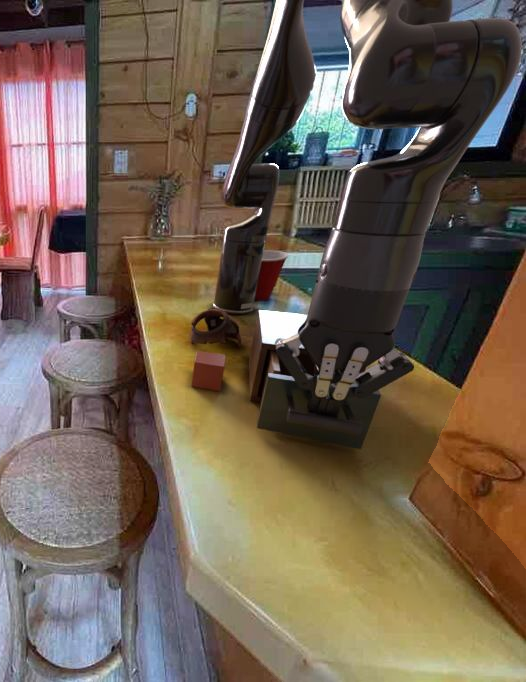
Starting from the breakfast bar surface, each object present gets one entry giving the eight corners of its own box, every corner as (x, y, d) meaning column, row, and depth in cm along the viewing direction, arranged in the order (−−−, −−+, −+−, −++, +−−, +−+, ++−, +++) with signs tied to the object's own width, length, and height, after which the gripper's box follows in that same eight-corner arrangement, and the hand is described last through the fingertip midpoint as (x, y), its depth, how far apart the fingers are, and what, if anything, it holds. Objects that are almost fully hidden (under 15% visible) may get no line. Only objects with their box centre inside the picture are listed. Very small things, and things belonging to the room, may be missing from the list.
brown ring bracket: (250, 356, 72) (240, 325, 68) (202, 371, 75) (189, 343, 71) (234, 319, 81) (223, 290, 77) (191, 334, 85) (179, 307, 80)
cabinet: (348, 418, 53) (370, 357, 49) (249, 400, 58) (261, 342, 54) (329, 370, 65) (344, 318, 61) (249, 359, 70) (258, 309, 66)
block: (194, 373, 65) (197, 350, 64) (221, 378, 64) (225, 354, 62) (191, 386, 62) (194, 362, 60) (220, 391, 60) (224, 366, 58)
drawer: (371, 476, 42) (395, 418, 39) (257, 450, 46) (270, 396, 43) (337, 393, 57) (352, 346, 54) (254, 379, 61) (263, 335, 58)
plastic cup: (230, 291, 108) (236, 249, 103) (268, 290, 108) (276, 248, 103) (244, 303, 98) (253, 258, 93) (286, 303, 98) (297, 257, 93)
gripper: (431, 273, 38) (377, 414, 45) (284, 264, 43) (256, 393, 50) (468, 294, 32) (398, 455, 39) (290, 281, 36) (258, 426, 44)
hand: (318, 420), depth 44 cm, fingers closed
